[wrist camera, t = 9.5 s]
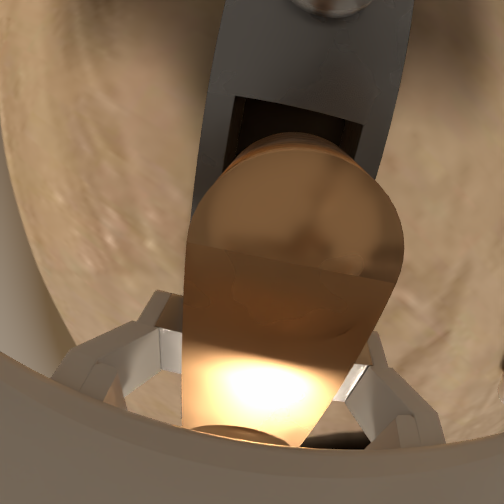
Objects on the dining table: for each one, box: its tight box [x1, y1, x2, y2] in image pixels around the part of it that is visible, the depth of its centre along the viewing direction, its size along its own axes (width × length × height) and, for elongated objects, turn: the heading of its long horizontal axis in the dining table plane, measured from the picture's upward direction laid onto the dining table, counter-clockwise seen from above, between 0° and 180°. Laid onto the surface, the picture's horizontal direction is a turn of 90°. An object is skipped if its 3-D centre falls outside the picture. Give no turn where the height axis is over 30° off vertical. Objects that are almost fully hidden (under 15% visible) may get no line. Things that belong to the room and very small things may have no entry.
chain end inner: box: [190, 0, 414, 223], centre depth 9 cm, size 12×6×4 cm, turn 170°
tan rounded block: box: [182, 132, 404, 447], centre depth 10 cm, size 12×4×6 cm, turn 170°
